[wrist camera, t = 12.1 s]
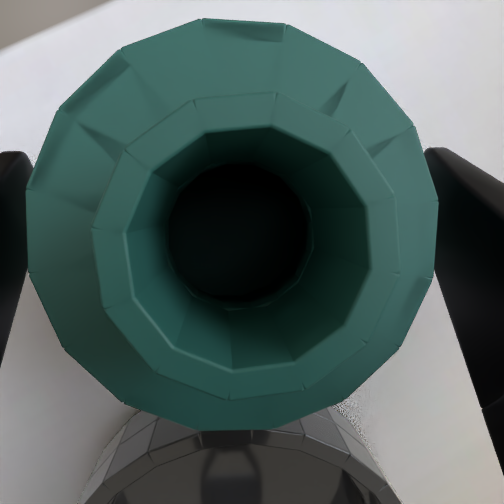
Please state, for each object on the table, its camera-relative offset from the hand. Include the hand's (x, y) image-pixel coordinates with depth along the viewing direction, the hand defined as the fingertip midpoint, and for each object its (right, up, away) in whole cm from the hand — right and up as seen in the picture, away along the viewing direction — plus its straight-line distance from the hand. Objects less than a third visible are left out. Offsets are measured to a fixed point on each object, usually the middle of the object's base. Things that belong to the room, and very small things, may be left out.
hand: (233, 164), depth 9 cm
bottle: (-1, -1, +7) cm, 7 cm away
